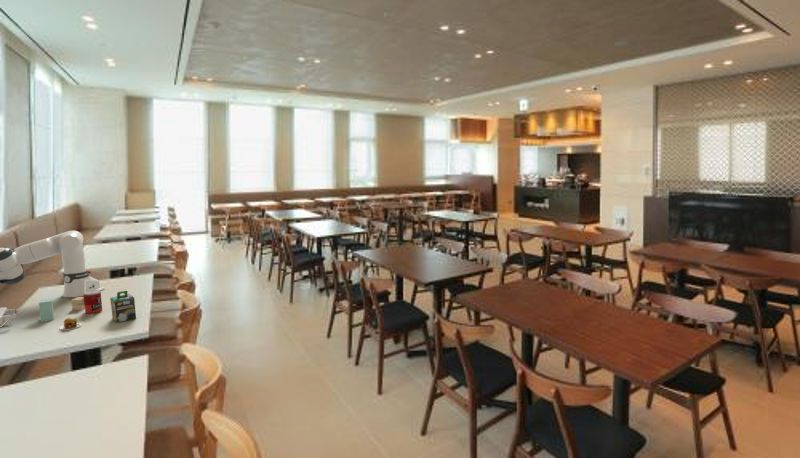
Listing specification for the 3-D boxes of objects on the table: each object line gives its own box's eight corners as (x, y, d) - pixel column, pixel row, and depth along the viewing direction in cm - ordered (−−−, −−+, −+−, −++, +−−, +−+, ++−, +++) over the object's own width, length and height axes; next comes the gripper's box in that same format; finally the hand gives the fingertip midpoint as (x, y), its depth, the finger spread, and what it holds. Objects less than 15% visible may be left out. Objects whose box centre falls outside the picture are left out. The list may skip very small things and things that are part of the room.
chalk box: (131, 314, 241) (129, 287, 239) (136, 318, 235) (134, 290, 233) (111, 318, 235) (109, 290, 233) (116, 323, 228) (113, 294, 226)
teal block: (41, 319, 234) (39, 300, 233) (54, 317, 237) (52, 298, 236) (41, 321, 230) (39, 302, 229) (53, 319, 233) (51, 301, 232)
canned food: (94, 314, 242) (92, 294, 240) (81, 313, 243) (79, 293, 242) (106, 310, 249) (104, 290, 248) (93, 309, 251) (91, 289, 249)
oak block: (77, 307, 253) (76, 297, 252) (87, 307, 254) (86, 296, 253) (72, 310, 248) (71, 299, 248) (82, 310, 249) (81, 299, 248)
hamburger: (80, 322, 231) (79, 312, 230) (90, 327, 224) (88, 316, 223) (51, 329, 221) (50, 318, 221) (61, 334, 214) (59, 323, 214)
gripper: (-16, 319, 228) (19, 313, 235) (-24, 331, 211) (15, 325, 219) (-18, 306, 227) (18, 302, 234) (-26, 318, 210) (13, 312, 218)
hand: (16, 313), depth 226 cm, fingers open, 8 cm apart
